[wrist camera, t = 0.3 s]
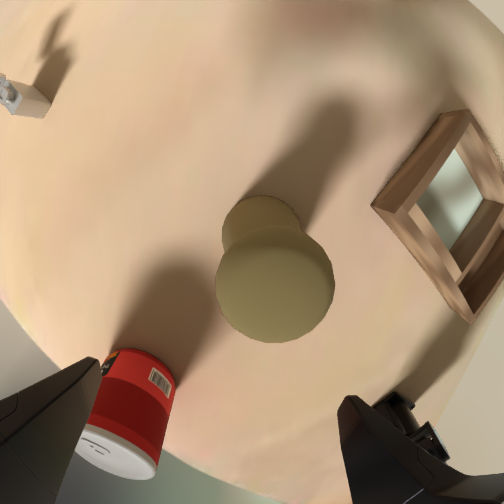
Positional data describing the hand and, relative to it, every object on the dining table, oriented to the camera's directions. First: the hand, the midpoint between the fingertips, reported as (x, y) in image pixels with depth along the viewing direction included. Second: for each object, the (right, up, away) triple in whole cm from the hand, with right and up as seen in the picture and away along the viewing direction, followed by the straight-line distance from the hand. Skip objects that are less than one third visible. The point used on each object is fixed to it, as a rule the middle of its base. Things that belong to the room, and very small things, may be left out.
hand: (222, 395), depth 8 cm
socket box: (+20, +8, +12) cm, 25 cm away
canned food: (-11, -8, +16) cm, 21 cm away
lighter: (-20, +20, +8) cm, 29 cm away
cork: (+2, +6, +13) cm, 14 cm away
